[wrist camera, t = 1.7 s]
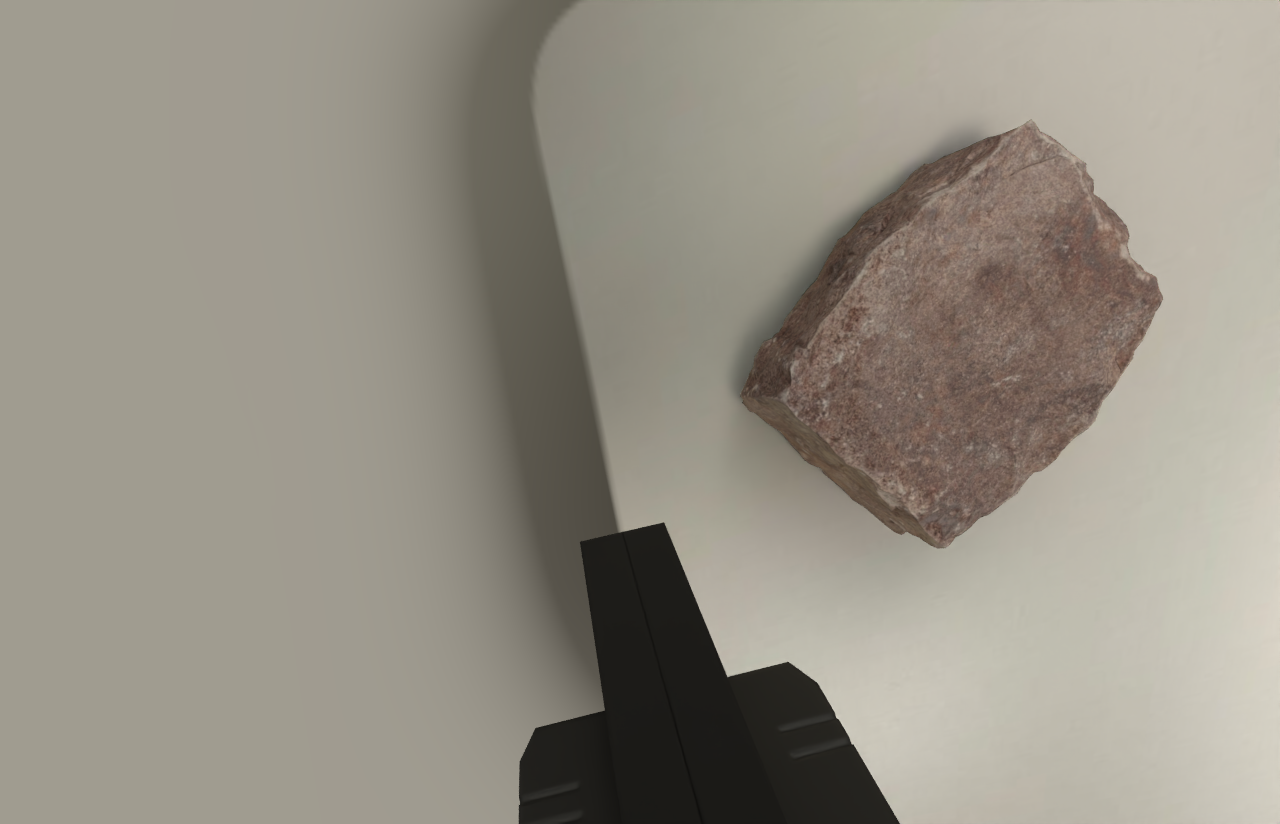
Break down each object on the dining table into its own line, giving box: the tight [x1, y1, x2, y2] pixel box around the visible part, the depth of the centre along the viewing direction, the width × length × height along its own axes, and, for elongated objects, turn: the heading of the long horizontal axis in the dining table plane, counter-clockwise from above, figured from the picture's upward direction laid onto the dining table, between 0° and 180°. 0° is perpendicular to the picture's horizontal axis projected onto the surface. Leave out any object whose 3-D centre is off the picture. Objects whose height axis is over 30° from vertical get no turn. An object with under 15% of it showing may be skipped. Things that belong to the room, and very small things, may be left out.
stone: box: [740, 120, 1163, 548], centre depth 22 cm, size 12×9×5 cm
